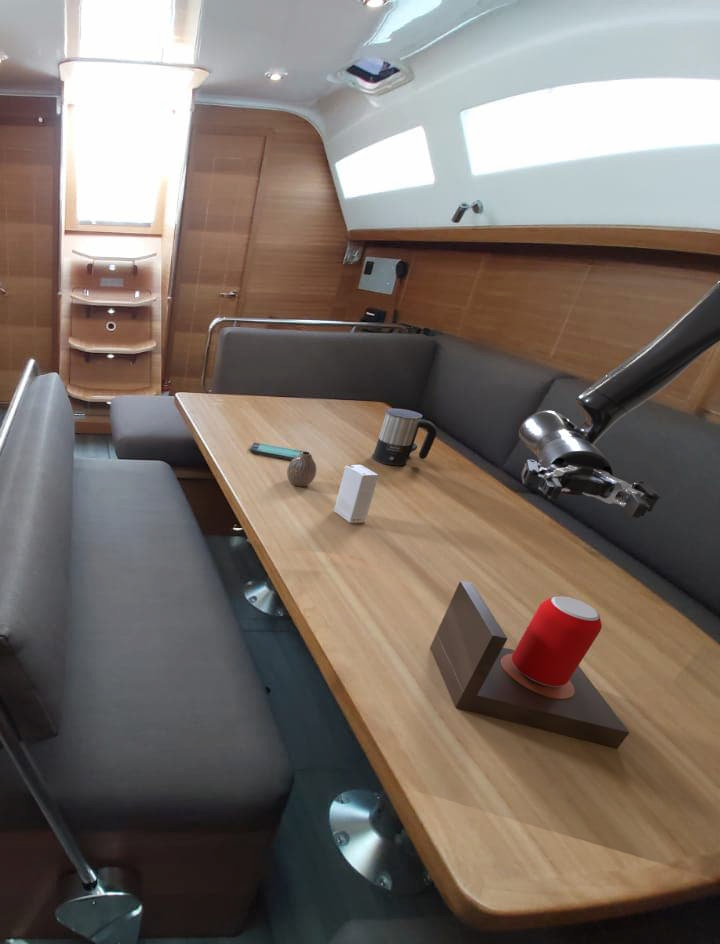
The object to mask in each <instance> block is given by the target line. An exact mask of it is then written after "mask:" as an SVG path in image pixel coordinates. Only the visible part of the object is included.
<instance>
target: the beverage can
mask: <svg viewBox="0 0 720 944" xmlns="http://www.w3.org/2000/svg"><path fill="white" fill-rule="evenodd" d="M602 627H603V626H602V620H601V616H600V614H599V612H598V611H597V610H596V609H595V608H594V607H592V606H591V605H589V604H588V603H586V602H585V601H581V600H579V599H576V598H573V597H569V596H564V595H563V596H561V595H555V596H552V597H550V598H548V599H545V600H543V601H542V602H541V603H540V604H539V605H538V608H537V609H536V611H535V613H534V614H533V616H532V618H531V620H530V621H529V623H528V626H527V627H526V629H525V631H524V632H523V635H522V637H521V639H520V640H519V642H518V644H517V645H516V648H515V649H514V650H515V651H514V653H513V654H512V661H513V664H514V666H515V667H516V668H517V669H518V670H519V671H520V672H521V673H522V674H523V675H524V676H526V677H527V678H529V679H531V680H532V681H535V682H537V683H540V684H543V685H546V686H552V687H560V686H563V685H565V684H566V683H567V682H568V681H569V679H570V678H571V676H572V675H573V673H574V672H575V670H576V668H577V667H578V665H579V666H580V664H581V662H582V661H583V659H584V658H585V656H586V655H587V653H588V651H589V650H590V648H591V647H592V645H593V643H594V642H595V640H596V638H597V637H598V636H599V634H600V633H601V630H602Z"/></svg>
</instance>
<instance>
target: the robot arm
mask: <svg viewBox="0 0 720 944" xmlns="http://www.w3.org/2000/svg"><path fill="white" fill-rule="evenodd" d="M718 343H720V280H719V281H717V283H716V284H715V285H713V287H711V289H709V290H708V291H707V292H706V293H705V294H704V295H703V296H702V297H700V299H699V300H698V301H697V302H696V303H695V304H694V305H692V306H691V307H690V308H689V309H688V310H687V311H685V313H683V314H682V315H681V316H680V317H679V318H678V319H676V320H675V321H674V322H673V323H671V324H670V325H669V326H668V327H667V328H666V329H664V330H663V331H662V332H661V333H659V335H657V336H656V337H655V338H653V339H652V340H651V341H649V342H648V343H647V344H646V345H644V346H643V347H642V348H641V349H640V350H638V351H637V352H636V353H635V354H633V355H631V356H630V357H629V358H627V359H626V360H625V361H623V362H622V363H620V364H619V365H617V366H616V367H615V368H613V369H612V370H610V371H609V372H608V373H606V374H605V375H604V376H602V377H601V378H599V379H598V380H597V381H595V382H594V383H593V384H591V385H589V386H588V387H587V388H585V389H584V390H583V391H581V392H580V393H579V394H577V396H576V397H575V400H574V403H575V404H576V405H577V407H578V408H579V409H580V410H581V412H582V413H583V414H584V416H585V420H584V423H583V424H582V426H581V427H579V426H578V425H576V424H575V423H574V422H572V421H571V420H570V419H569V418H567V417H566V416H565V415H563V414H561V413H560V412H558V411H555V410H542V411H537V412H535V413H532V414H531V415H529V416H528V417H526V418H525V419H524V420H523V421H522V423H521V424H520V426H519V429H518V438H519V439H520V441H521V442H522V443H523V444H524V446H526V447H527V448H528V449H529V450H530V451H531V452H533V453H534V454H535V456H536V458H537V460H535V459H527V460H526V462H525V464H524V467H523V468H522V471H521V473H520V475H521V482H522V485H523V486H525V487H533V486H537V487H538V490H540V491H541V492H542V494H543V495H545V496H547V498H548V499H549V500H552V501H557V500H558V498H559V496H560V494H561V495H565V496H570V497H571V496H572V497H581V496H587V497H593V498H595V499H597V500H599V501H601V502H604V503H606V504H608V505H618V506H621V507H623V509H624V510H625V512H626V513H627V515H628V516H629V517H630V518H633V519H640V517H645V515H646V514H647V513H648V512H649V513H652V512H653V510H654V508H655V507H656V505H657V503H658V502H659V500H660V499H661V497H662V495H661V494H660V493H658V492H657V491H656V490H655V489H654V488H653V487H652V486H651V485H649V483H647V482H645V481H644V480H637V479H636V480H634V482H633V483H631V484H630V483H629V482H627V481H625V480H622V479H620V478H618V477H617V476H614V473H613V467H612V464H611V463H610V461H609V460H608V459H607V458H606V457H605V455H604V454H603V453H602V452H601V451H600V449H599V448H598V447H596V445H595V444H596V443H597V442H598V441H599V440H600V439H601V437H603V436H604V434H606V432H607V431H608V430H609V429H610V428H611V427H613V425H614V424H615V423H617V422H618V421H619V420H620V419H621V418H623V417H624V416H626V415H627V414H629V413H631V412H632V411H634V410H635V409H636V408H638V407H640V406H641V405H643V404H644V403H646V402H647V401H648V400H650V399H652V398H653V397H654V396H655V395H657V394H658V393H659V392H661V391H662V390H664V389H665V388H666V387H667V386H668V385H670V384H671V383H672V382H673V381H674V380H675V379H676V378H677V377H679V376H680V375H681V374H682V373H683V372H684V371H685V370H687V368H688V367H689V366H691V364H693V363H694V362H695V361H696V360H697V359H699V357H700V356H702V355H704V353H706V352H707V351H708V350H710V349H711V348H712V347H714V346H715V345H717V344H718ZM608 494H609V496H608ZM625 494H626V495H625ZM624 496H625V498H626V500H625V499H623V498H624Z"/></svg>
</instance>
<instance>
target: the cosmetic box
mask: <svg viewBox="0 0 720 944" xmlns="http://www.w3.org/2000/svg"><path fill="white" fill-rule="evenodd" d="M378 480H379V474H378V473H376V472H374V471H373V470H370V468H367V467H366V466H364V465H362V464H350V465H349V464H348V465H345V466H344V470H343V474H342V478H341V481H340V486H339V490H338V493H337V497H336V501H335V506H334V509H333V511H334V512H335V513H336V514H337V515H338V516H339V517H341V518H342V519H344V520H345V521H347V522H348V523H349V524H361V523H366V520H367V517H368V513H369V510H370V507H371V503H372V500H373V496H374V493H375V489H376V486H377V483H378Z"/></svg>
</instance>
